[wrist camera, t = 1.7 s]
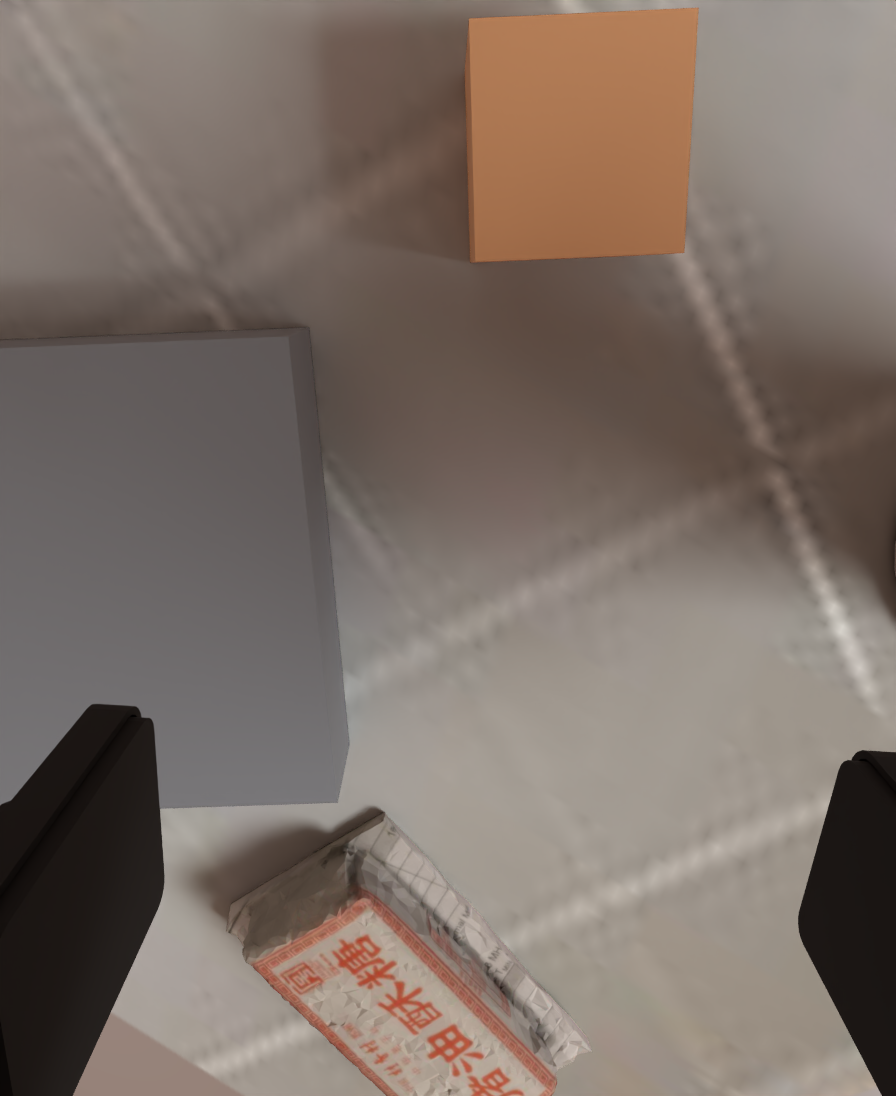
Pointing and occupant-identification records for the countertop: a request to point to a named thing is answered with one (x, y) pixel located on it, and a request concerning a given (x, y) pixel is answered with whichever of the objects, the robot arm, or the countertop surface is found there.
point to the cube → (579, 133)
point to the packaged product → (403, 972)
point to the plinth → (171, 560)
